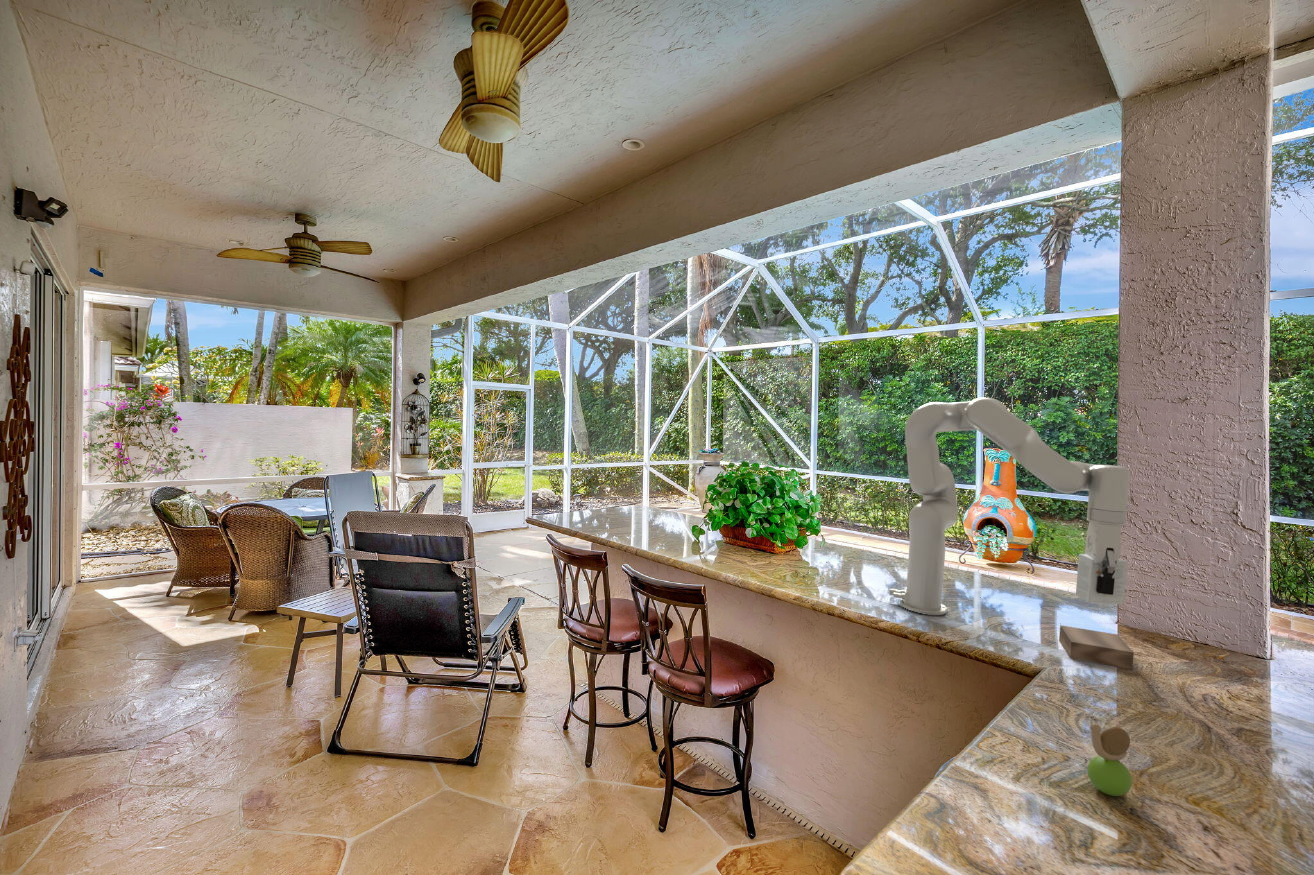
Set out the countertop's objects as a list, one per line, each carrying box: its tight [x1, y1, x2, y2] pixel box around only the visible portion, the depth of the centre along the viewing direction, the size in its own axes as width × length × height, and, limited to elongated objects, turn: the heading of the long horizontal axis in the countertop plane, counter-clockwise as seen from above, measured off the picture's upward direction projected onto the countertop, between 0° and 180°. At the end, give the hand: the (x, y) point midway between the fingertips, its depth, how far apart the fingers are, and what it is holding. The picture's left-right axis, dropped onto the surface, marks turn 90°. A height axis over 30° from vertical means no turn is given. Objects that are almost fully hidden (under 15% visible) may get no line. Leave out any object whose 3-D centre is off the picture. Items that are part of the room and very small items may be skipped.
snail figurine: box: [1086, 714, 1133, 797], centre depth 90 cm, size 5×6×12 cm
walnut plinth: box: [1058, 624, 1135, 670], centre depth 144 cm, size 12×12×4 cm
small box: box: [1075, 553, 1128, 605], centre depth 142 cm, size 8×6×10 cm
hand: (1100, 588), depth 143 cm, fingers closed on small box, 6 cm apart
